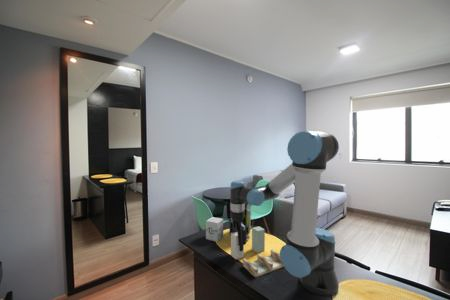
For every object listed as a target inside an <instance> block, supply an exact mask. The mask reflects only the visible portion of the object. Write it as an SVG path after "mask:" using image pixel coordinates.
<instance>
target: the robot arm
mask: <svg viewBox="0 0 450 300" xmlns="http://www.w3.org/2000/svg"><path fill="white" fill-rule="evenodd" d="M339 148H340V146H339V141H338V139H337V138H336V136H335V135H333V134H332V133H330V132H327V131H318V130H317V131H316V130H310V129H309V130H302V131H298V132H296V133H295V134H294V135H293V136H292V137H291V138H290V139H289V141H288V144H287V148H286V149H287V155H288V157H289V159H290V160H291V161H292V162H291V164H289V165H288V166H287V167H286V168H284V169H283V170H282V171H281V172H280V173H278V174H277V175H275V176H274V177H273V179H271V180H270V181H268V182H267V183H266V184H265V185H261V186H256V187H248V186H246V183H245V182H244V181H242V180H233V181H231V183H230V205H229V207H230V208H229V209H230V210H229V211H230V215H229V217H230V218H229V219H228V223H229V237H230V238H231V233H234V232H237V234H238V242H239V244H238V257H241V256H243V245H244V246H245V245H246V244H247V241H246V228H247V227H246V226H244V225H243V219H244V218H245V211H244V210H245V202H246V203H248V204H251V205H252V206H256V207H259V206H261V205H262V204H263V203H264V202H266V201H272V200H274V199H276V198H277V199H278V197H280V194H281V193H282V192H283V191H284V190H287V188H289V187H290V186H292V185H293V184H294V193H293V194H294V195H293V204H292V205H293V206H292V220H291V230H289V231H288V232H287V233H286V234H287V235H286V241H285V242H286V244H285V245H283V246H282V247H281V248H280V250H279V254H280V259H281V262H282V264H283V265H284V267H283V268H285V270H286V271H287V272H288V273H289V274H290V275H292V276H293V277H295V278H299V282H300V283H301V285H302V287H303V288H305V289H306V290H307V291H309V292H311V293H313V294H315V295H319V296H323V297H324V296H325V297H329V296H334V295H333V294H335V293H336V294H337V293H338V292H339V290H338V289H339V288H340V287H339V285H340V283H339V280H338V277H337V275H336V270H335V256H336V255H335V253H336V251H335V250H336V240H335V238H336V237H335V235H334V234H333V232H331V231H329V230H327V229H323V228H320V227H317V221H318V220H317V218H318V211H319V199H320V198H319V197H320V187H321V185H320V184H321V177H322V175H321V174H322V173H323V172H325V171H326V170H327V163H328V162H330V161H332V160H333V159H334V158H335V157H336V156H337V154H338V152H339V150H340V149H339ZM336 294H335V295H336Z"/></svg>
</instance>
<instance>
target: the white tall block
mask: <svg viewBox="0 0 450 300" xmlns="http://www.w3.org/2000/svg"><path fill="white" fill-rule="evenodd" d="M238 244H239V242H238V234H237V232H234V233H231V237H230V256H231V257H232V258H234V260H239V259H242V258H244V257H245V253H244V252H245V245H243V256H241V257H238Z"/></svg>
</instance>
